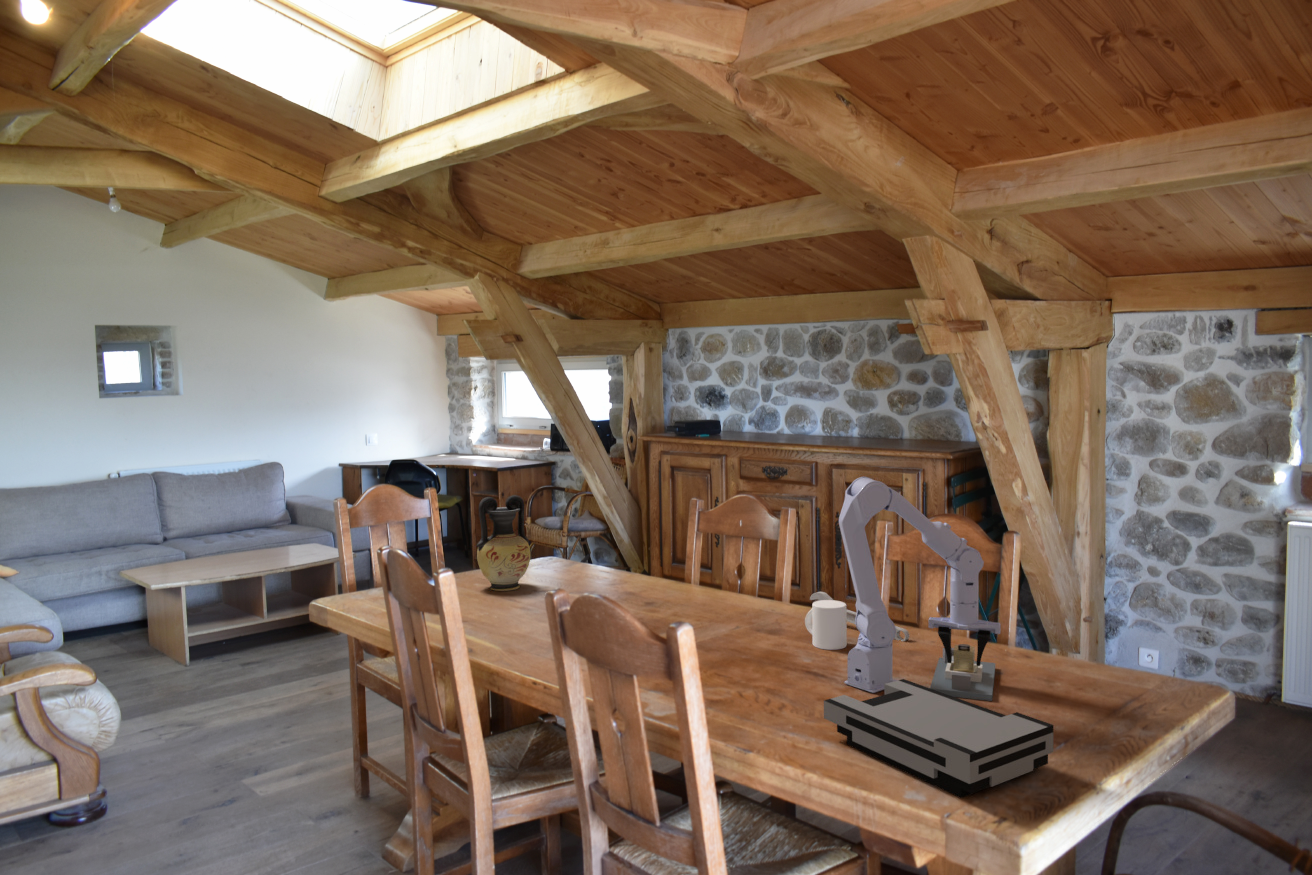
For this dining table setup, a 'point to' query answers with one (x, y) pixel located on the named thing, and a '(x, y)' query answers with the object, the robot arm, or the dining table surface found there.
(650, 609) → the dining table surface
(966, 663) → the block
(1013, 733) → the game console
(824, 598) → the wrench
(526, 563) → the amphora
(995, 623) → the robot arm
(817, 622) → the mug
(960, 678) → the base
